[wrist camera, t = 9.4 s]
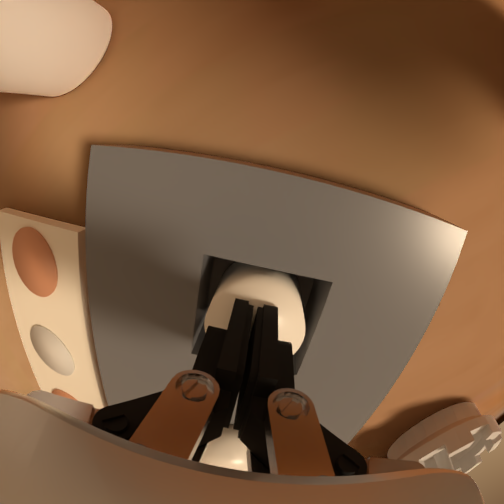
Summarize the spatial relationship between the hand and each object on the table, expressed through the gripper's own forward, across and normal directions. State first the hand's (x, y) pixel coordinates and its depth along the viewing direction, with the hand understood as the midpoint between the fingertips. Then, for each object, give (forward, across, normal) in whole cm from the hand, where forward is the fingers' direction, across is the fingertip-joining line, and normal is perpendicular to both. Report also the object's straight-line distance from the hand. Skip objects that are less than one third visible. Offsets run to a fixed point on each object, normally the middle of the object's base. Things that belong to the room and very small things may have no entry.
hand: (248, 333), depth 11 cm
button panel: (+4, 0, +10) cm, 11 cm away
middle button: (+2, 0, +10) cm, 10 cm away
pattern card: (+4, +15, +10) cm, 18 cm away
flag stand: (+4, -22, +14) cm, 26 cm away
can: (+4, +14, -12) cm, 19 cm away
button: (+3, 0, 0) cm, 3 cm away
